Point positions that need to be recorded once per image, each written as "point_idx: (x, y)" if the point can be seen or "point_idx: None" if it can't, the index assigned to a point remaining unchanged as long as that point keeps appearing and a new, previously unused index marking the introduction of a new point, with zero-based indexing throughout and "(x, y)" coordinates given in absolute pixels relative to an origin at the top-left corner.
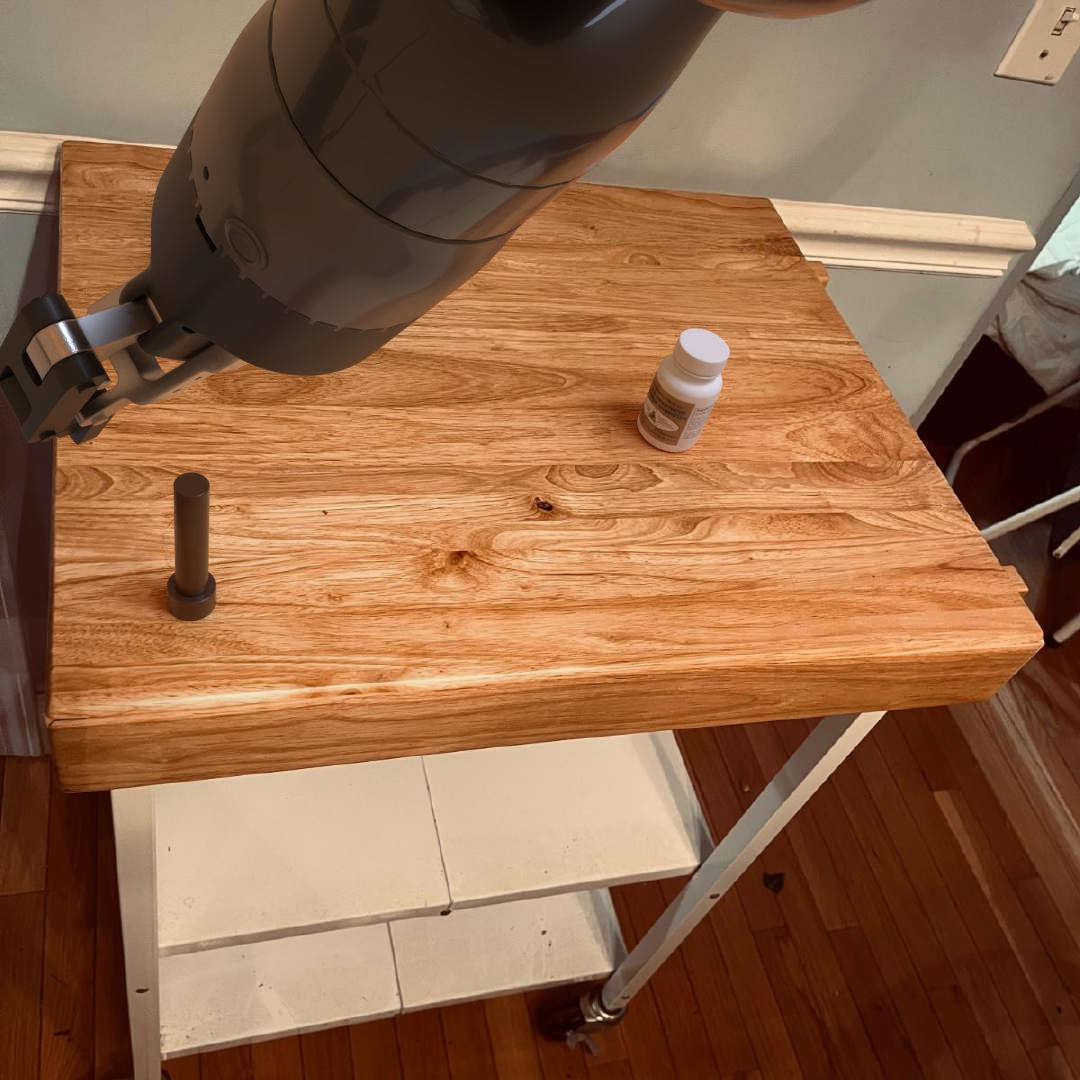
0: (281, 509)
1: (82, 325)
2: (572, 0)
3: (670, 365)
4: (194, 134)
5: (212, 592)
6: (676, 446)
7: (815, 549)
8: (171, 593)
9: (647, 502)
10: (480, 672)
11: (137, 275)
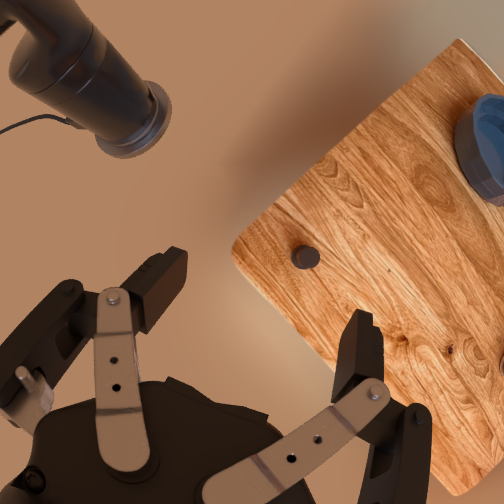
0: (377, 252)
1: (5, 413)
2: None
3: None
4: None
5: (306, 268)
6: (502, 373)
7: (473, 439)
8: (293, 253)
9: (471, 381)
10: None
11: (96, 393)
